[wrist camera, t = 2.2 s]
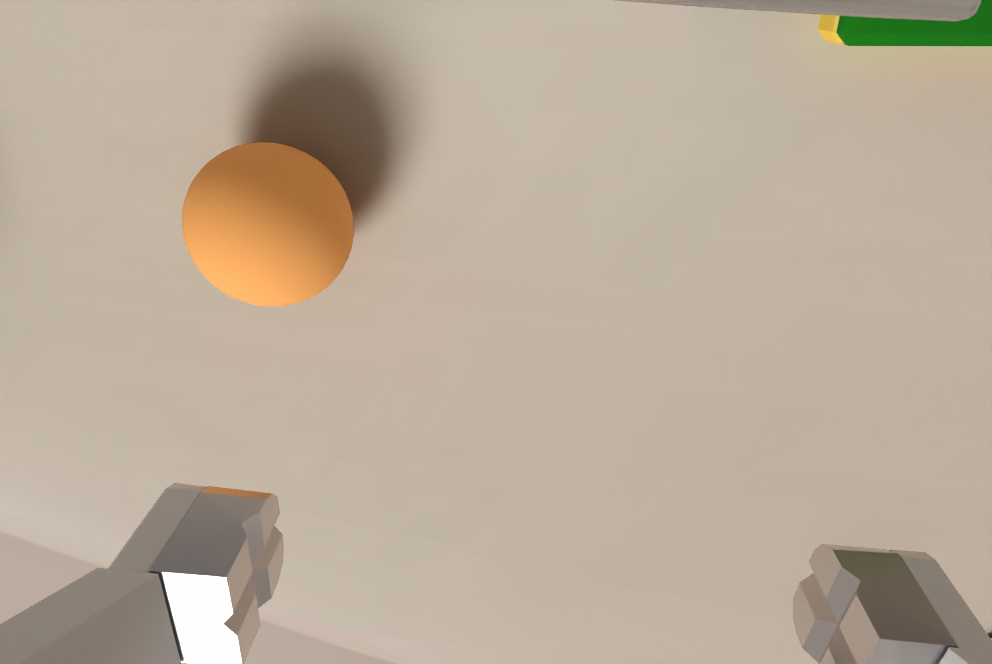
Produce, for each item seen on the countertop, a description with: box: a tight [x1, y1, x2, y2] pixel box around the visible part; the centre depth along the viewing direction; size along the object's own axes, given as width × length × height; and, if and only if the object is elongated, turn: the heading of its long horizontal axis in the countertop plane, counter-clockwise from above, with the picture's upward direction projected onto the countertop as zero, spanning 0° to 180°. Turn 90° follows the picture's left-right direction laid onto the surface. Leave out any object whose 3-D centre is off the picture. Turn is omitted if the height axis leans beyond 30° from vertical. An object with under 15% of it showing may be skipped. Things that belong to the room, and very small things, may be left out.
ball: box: [182, 142, 354, 306], centre depth 22 cm, size 6×6×6 cm
